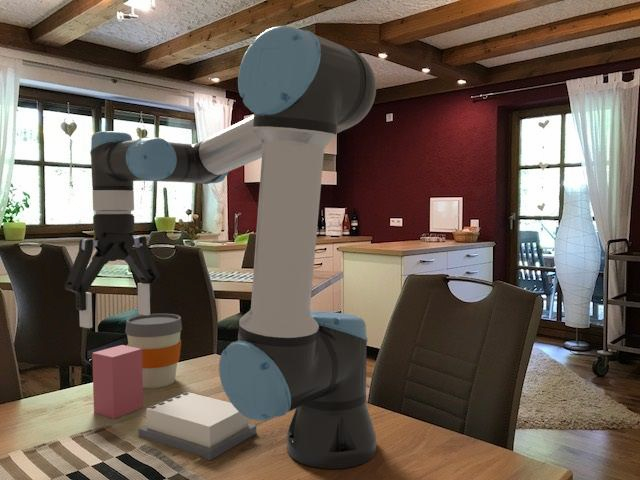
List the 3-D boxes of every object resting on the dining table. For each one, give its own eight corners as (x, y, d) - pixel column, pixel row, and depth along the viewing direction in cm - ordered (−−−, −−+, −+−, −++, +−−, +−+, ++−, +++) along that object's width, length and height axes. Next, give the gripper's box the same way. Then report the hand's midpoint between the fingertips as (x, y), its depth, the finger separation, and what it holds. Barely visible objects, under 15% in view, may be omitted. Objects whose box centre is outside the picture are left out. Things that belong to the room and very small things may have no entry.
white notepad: (256, 433, 97) (256, 405, 97) (210, 460, 87) (209, 428, 86) (187, 414, 106) (187, 388, 106) (138, 436, 96) (138, 408, 95)
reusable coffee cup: (194, 380, 127) (193, 317, 126) (151, 395, 116) (149, 327, 115) (158, 371, 134) (157, 311, 133) (114, 385, 123) (113, 320, 122)
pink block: (143, 407, 109) (141, 348, 108) (113, 418, 103) (112, 357, 102) (123, 401, 112) (122, 344, 111) (93, 412, 106) (92, 352, 105)
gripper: (150, 212, 118) (153, 308, 119) (41, 213, 96) (45, 330, 98) (175, 212, 114) (177, 311, 115) (66, 213, 92) (70, 335, 94)
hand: (116, 320), depth 106 cm, fingers open, 13 cm apart
